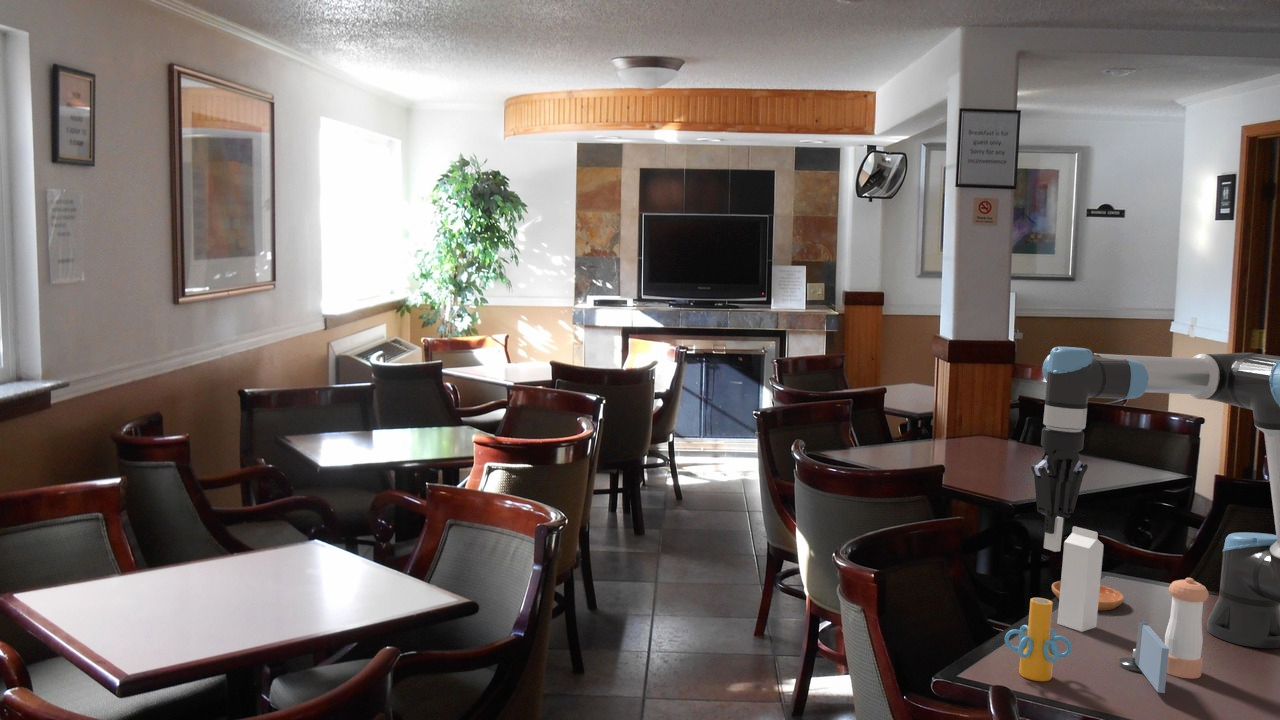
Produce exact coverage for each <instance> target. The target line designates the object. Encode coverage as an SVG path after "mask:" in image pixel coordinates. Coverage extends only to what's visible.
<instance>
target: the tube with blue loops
mask: <svg viewBox="0 0 1280 720" xmlns="http://www.w3.org/2000/svg"><path fill="white" fill-rule="evenodd" d="M1052 615H1053V601H1052V600H1050V599H1047V598H1043V597H1032V598H1030V601H1029V612H1028V625H1027V624H1023V625H1021V626H1020V628H1019V629H1016V628H1015V629H1010V630H1009V631H1007V632H1006V634H1005V636H1004V643H1005V645H1006V646H1007V648H1009V650H1012V651H1015V652H1018V655H1019V668H1018V672H1019V675H1020V676H1021V677H1023V678H1024V679H1027V680H1031V681H1035V682H1048V681H1050V680H1052V678H1053V668H1054V667H1053V665H1054V663H1055V662H1057V661H1058V658H1061V659H1062V658H1066V657H1068V656H1069V655H1070V654H1071V653H1072V650H1073V646H1072V642H1071V641H1070V640H1069V639H1068V638H1067V637H1065V636H1062V635H1057V634H1056V630H1054V629H1053V628H1051V625H1052V617H1053V616H1052ZM1025 630H1026V631H1027V633H1025ZM1014 634H1016V635H1017V634H1018V637H1019V643H1018V644H1019V645H1018V646H1015V645H1012V644H1011V643H1010V637H1011V636H1012V635H1014ZM1026 634H1027V635H1026ZM1050 637H1051V638H1050ZM1056 641H1063V642H1064V643H1065V644H1066V646H1067V649H1066V651H1065V652H1062V653H1060V652H1059V648H1058V645H1057V643H1056Z"/></svg>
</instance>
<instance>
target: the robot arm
mask: <svg viewBox="0 0 1280 720" xmlns="http://www.w3.org/2000/svg"><path fill="white" fill-rule="evenodd" d="M1049 353H1050V354H1048V355H1047V356H1046V357H1045V359H1044V361H1043V364H1042V370H1041V371H1042V375H1043V378H1044V380H1045V382H1046V386H1045V387H1046V388H1045V399H1044V412H1043V422H1042V424H1043V425H1044V427H1043V428H1042V429H1041V440H1040V445H1041V447H1043V454H1042V456H1041V461H1040V462H1039V463H1038V464H1034V463H1033V464H1031V468H1030V469H1031V471H1032V473H1033V476H1034V477H1033V478H1034V489H1035V491H1034V492H1035V499H1036V511H1037V512H1038V513H1040V514H1041V515H1044V527H1043V532H1044V539H1043V549H1046V550H1049V551H1052V552H1055V553H1056V552H1061V548H1062V547H1061V546H1062V539H1063V533H1064V530H1065V528H1064V527H1065V520H1066V518H1067V519H1069V518H1070V517H1071V514H1073V513H1074V512H1075V509H1076V506H1077V505H1076V504H1077V502H1078V501H1077V500H1078V498H1079V493H1080V490H1081V486H1082V483H1083V478H1084V476H1085V474H1086V472H1087V470H1088V469H1089V466H1088V464H1086V463H1083V462H1081V460H1080V455H1079V452H1081V451H1082V450H1084V441H1085V432H1084V431H1083V430H1085V428H1086V426H1087V425H1086V424H1087V415H1088V404H1089V399H1095V398H1096V399H1111V400H1113V399H1114V400H1115V399H1116V400H1117V399H1118V400H1123V401H1125V400H1127V399H1128V400H1131V399H1132V400H1133V399H1134V400H1135V399H1137V398H1140V397H1142V396H1143V395H1144V394H1145V393H1156V394H1174V395H1175V394H1179V395H1180V394H1181V395H1190V396H1191V397H1193V398H1194V399H1196V400H1206V401H1207V400H1209V401H1214V402H1218V403H1223V404H1226V405H1231V406H1235V407H1239V408H1242V409H1246V410H1252V414H1253V416H1252V417H1253V422H1254V426H1255V428H1257V429H1258V430H1260V432H1262V433H1263V434H1264V441H1265V442H1264V444H1265V450H1266V451H1265V452H1266V459H1267V467H1268V474H1269V475H1268V476H1269V484H1270V493H1271V501H1272V509H1273V516H1274V517H1273V518H1274V525H1275V527H1274V528H1275V534H1272V533H1264V532H1263V533H1261V532H1247V531H1246V532H1232V533H1229V534H1228V535H1227V536H1226V538H1224V539H1225V540H1224V541H1225V542H1224V545H1223V549H1222V557H1221V558H1222V559H1221V568H1220V569H1221V571H1220V581H1219V583H1220V584H1219V592H1218V593H1219V594H1218V598H1217V600H1216V602H1215V603H1214V606H1213V608H1212V609H1211V612H1210V614H1209V616H1208V618H1207V622H1206V630H1207V632H1208V633H1209V634H1210V635H1212V636H1214V637H1215V638H1217V639H1221V640H1223V641H1226V642H1228V643H1231V644H1234V645H1235V644H1236V645H1239V646H1244V647H1250V648H1255V649H1256V648H1258V649H1279V648H1280V356H1279V355H1270V354H1262V353H1261V354H1260V353H1255V352H1233V353H1199V354H1198V353H1197V354H1196V355H1194V356H1192V357H1173V356H1172V357H1171V356H1154V355H1153V356H1152V355H1135V354H1134V355H1133V354H1132V355H1129V354H1128V355H1127V354H1113V353H1111V354H1110V353H1093V352H1092V350H1091V349H1090V348H1084V347H1074V346H1072V347H1071V346H1055V347H1053V348H1052V349H1051V350H1050V352H1049Z"/></svg>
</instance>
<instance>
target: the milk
mask: <svg viewBox="0 0 1280 720" xmlns="http://www.w3.org/2000/svg"><path fill="white" fill-rule="evenodd" d="M1071 529H1072V530H1071V533H1070V534H1069V536H1068V537H1067V538H1065V540H1064V542H1063V552H1062V553H1063V554H1062V564H1061V565H1062V567H1061V577H1060V578H1061V579H1060V581H1061V586H1060V598H1058V600H1059V601H1058V602H1059V603H1058V611H1057V625H1060V626H1063V627H1066V628H1069V629H1072V630H1075V631H1078V632H1081V633H1082V632H1083V633H1084V632H1085V631H1089V630H1091V629H1092V630H1093V629H1095V628H1097V624H1098V623H1097V622H1098V611H1099V610H1098V602H1099V591H1100V585H1101V579H1102V568H1103V567H1102V566H1103V557H1104V544H1103V543H1102V542H1101V541H1100V540H1099V539H1098V535H1099V534H1098V531H1094V530H1090V529H1087V528H1083V527H1078V526H1075V525H1074V526H1072V528H1071Z"/></svg>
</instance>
